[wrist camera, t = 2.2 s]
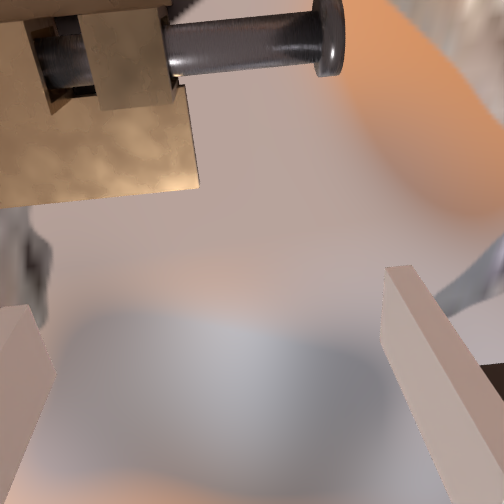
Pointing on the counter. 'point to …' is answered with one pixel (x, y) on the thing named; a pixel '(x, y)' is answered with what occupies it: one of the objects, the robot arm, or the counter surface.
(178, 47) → the pin
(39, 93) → the brown board
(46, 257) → the counter surface
